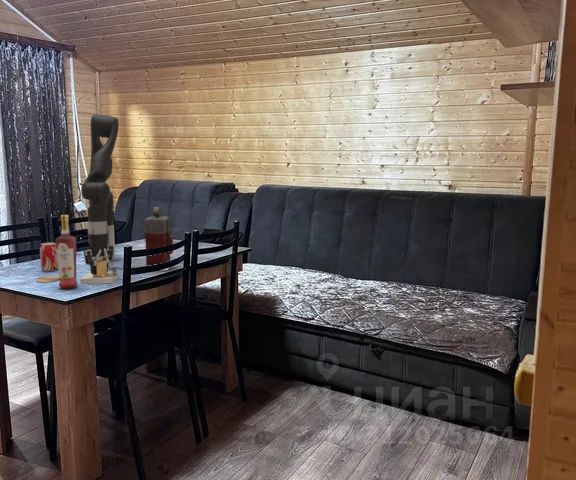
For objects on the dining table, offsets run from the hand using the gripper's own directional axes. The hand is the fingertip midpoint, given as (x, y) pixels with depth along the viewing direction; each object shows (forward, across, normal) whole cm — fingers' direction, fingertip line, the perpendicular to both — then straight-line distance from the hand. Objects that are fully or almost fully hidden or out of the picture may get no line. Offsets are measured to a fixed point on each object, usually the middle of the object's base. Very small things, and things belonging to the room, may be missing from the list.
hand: (100, 272), depth 212 cm
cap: (+1, 0, 0) cm, 1 cm away
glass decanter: (+3, +29, -8) cm, 30 cm away
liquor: (+3, -15, +2) cm, 15 cm away
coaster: (+3, -10, +19) cm, 21 cm away
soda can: (+3, +3, +33) cm, 33 cm away
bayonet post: (+3, 0, 0) cm, 3 cm away
